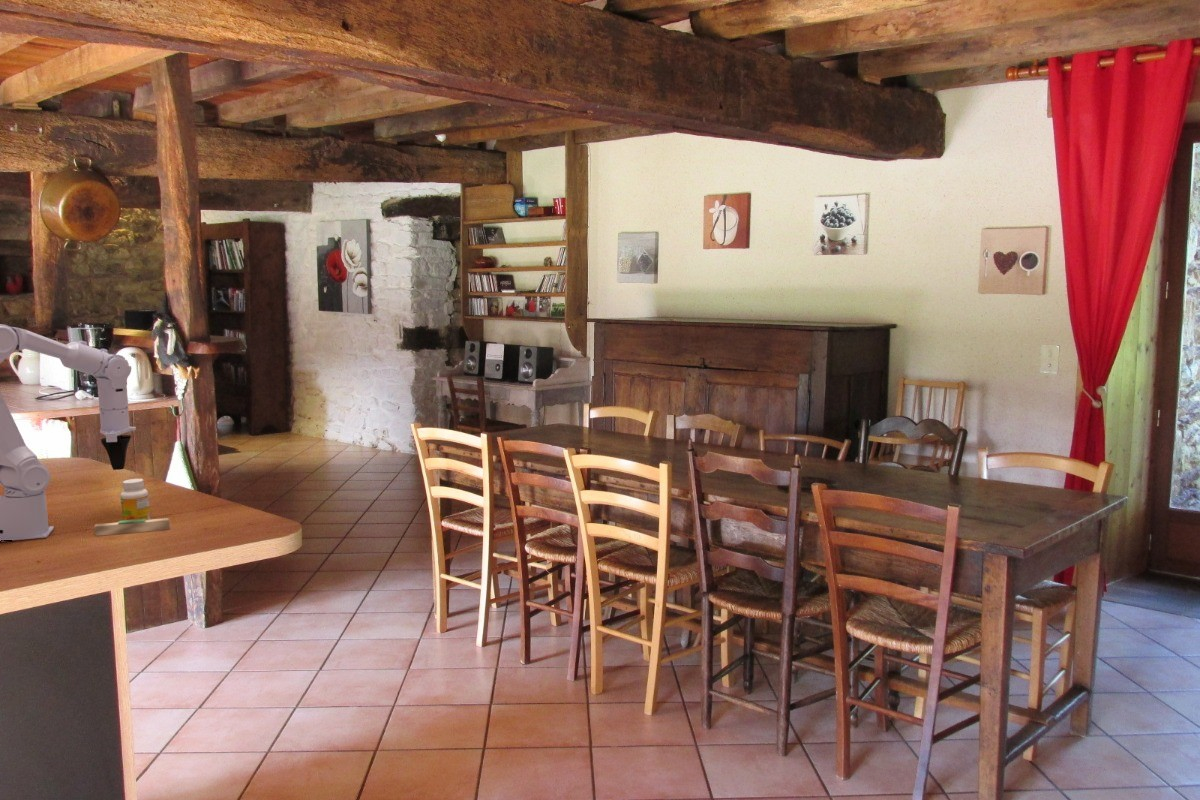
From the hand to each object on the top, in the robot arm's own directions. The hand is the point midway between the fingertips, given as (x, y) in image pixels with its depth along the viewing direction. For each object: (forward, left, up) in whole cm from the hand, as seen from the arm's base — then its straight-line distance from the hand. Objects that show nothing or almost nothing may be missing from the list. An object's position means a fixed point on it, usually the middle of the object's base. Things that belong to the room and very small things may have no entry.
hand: (118, 469), depth 216 cm
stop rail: (+4, -17, -10) cm, 20 cm away
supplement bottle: (+4, -11, -11) cm, 16 cm away
